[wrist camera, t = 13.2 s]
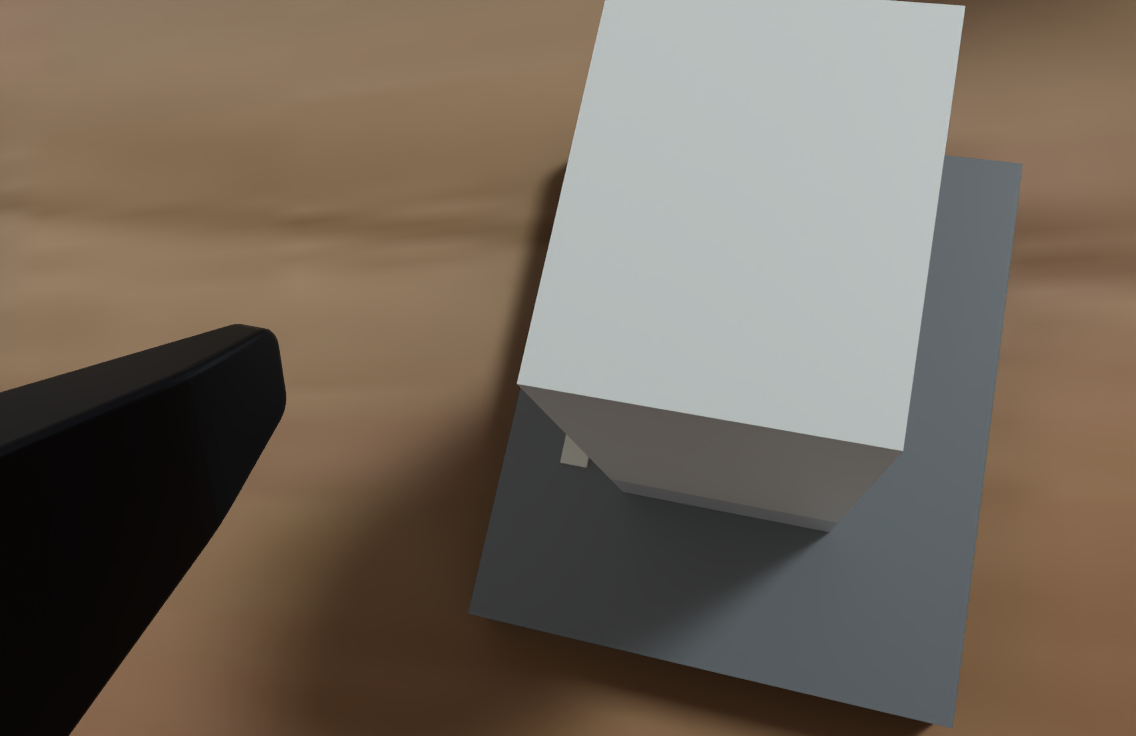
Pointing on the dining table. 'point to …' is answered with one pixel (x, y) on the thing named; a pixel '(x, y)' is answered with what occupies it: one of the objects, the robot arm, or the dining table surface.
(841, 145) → the white rectangular block
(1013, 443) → the dining table surface
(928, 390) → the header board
